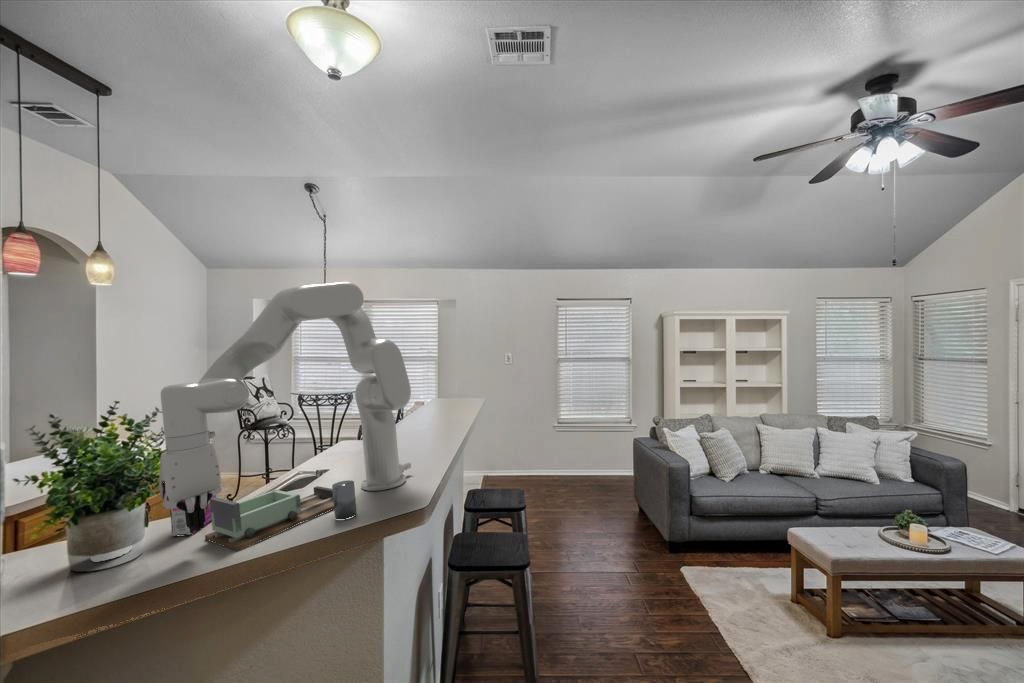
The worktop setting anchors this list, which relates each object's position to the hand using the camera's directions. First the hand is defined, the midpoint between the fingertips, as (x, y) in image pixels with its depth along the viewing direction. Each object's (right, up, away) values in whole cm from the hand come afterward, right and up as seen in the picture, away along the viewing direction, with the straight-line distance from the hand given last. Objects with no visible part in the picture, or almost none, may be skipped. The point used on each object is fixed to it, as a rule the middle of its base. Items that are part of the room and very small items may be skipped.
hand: (196, 528), depth 99 cm
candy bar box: (-11, -6, +16) cm, 20 cm away
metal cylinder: (+26, -3, +15) cm, 30 cm away
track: (+10, -4, +16) cm, 19 cm away
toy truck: (+7, -3, +11) cm, 13 cm away
